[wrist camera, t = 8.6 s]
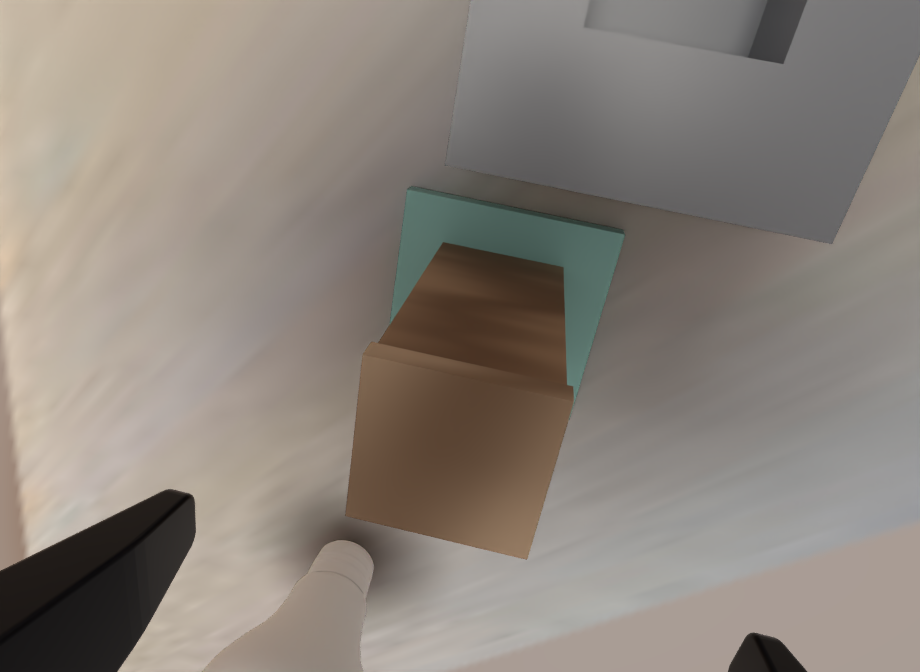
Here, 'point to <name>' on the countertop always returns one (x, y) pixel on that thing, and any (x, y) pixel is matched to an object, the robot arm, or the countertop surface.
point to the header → (686, 102)
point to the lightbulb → (310, 620)
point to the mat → (515, 255)
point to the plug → (465, 403)
